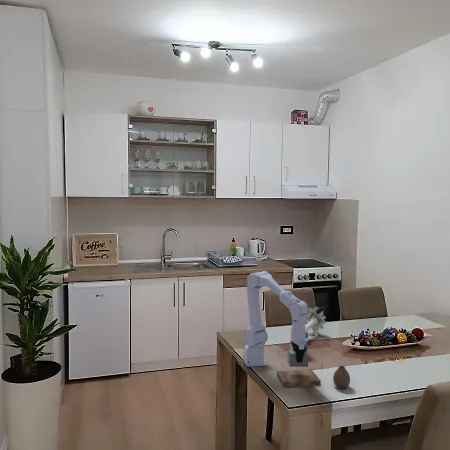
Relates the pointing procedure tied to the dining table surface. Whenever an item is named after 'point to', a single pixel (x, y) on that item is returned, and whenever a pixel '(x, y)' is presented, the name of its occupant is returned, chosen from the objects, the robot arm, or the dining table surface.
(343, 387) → the vase
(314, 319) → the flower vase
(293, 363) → the gray teal block
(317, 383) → the walnut stand
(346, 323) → the dining table surface
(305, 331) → the ink cartridge box
